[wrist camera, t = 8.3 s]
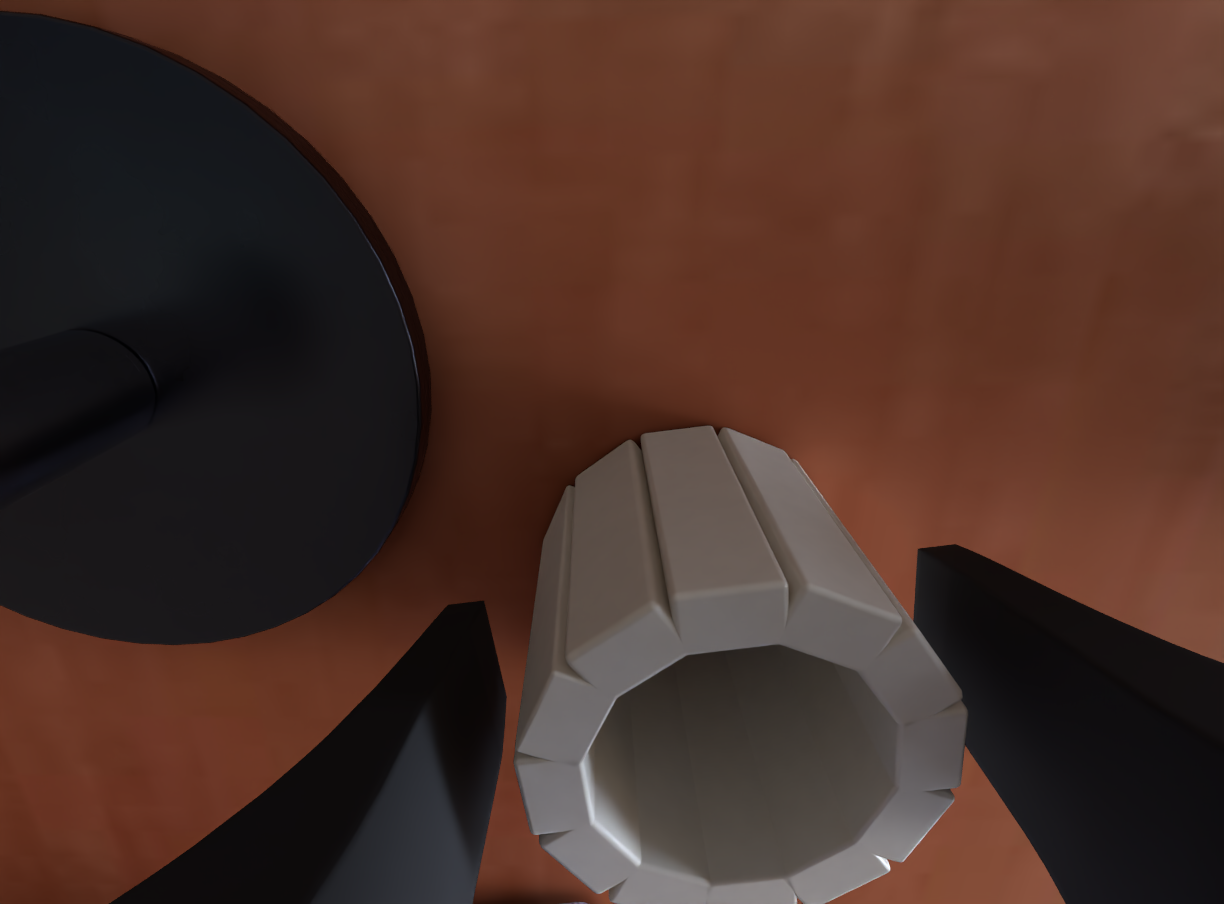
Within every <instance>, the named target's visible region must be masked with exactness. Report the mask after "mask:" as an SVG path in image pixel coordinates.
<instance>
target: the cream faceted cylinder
mask: <svg viewBox="0 0 1224 904" xmlns="http://www.w3.org/2000/svg"><path fill="white" fill-rule="evenodd" d="M641 448H642V451H641V449H640V448H639V447H638V446H637V444H636V443H635V442H634V441H632V440H627V441H626V442H624V443H623V444H621V445H620V446H619V447H617V448H616V449H614V450H613V451H611V452H610V453H609V454H607V455H606V456H604V457H603V458H602V459H600V460H599V461H597V462H596V463H595V464H593V465H592V466H590V467H589V468H588V469H586V470H585V471H583V472H582V473H580V474H579V475H578V476H577V477H576V479H575V487H573V486H570V485H568V486H567V487H566V489H565V492H564V494H563V496H562V498H561V501H560V503H559V505H558V508H557V510H556V512H555V514H554V517H553V519H552V521H551V524H550V526H549V528H548V530H547V533H546V535H545V537H544V540H543V546H542V553H541V560H540V568H539V575H538V582H537V590H536V597H535V604H534V611H533V619H532V626H531V633H530V641H529V648H528V655H527V662H526V670H525V677H524V684H523V691H522V699H521V706H520V713H519V721H518V728H517V735H516V742H515V755H514V767H515V771H516V775H517V779H518V783H519V787H520V791H521V795H522V800H523V804H524V808H525V812H526V816H527V820H528V824H529V828H530V831H531V833H532V834H534V835H539V843H540V845H541V847H542V848H543V849H544V850H545V851H546V852H547V853H549V854H550V855H551V856H552V857H553V858H555V859H556V860H557V861H558V862H559V863H560V864H562V865H563V866H564V867H565V868H566V869H567V870H569V871H570V872H571V873H572V874H573V875H574V876H576V877H577V878H578V879H579V880H580V881H582V882H583V883H584V884H585V885H586V886H587V887H589V888H590V889H591V890H592V891H593V892H594V893H603V892H604V891H606V890H608V889H609V899H610V901H611V902H613V903H617V904H797V897H798V898H799V899H800V900H801V902H802V903H803V904H825V903H827V902H829V901H831V900H833V899H835V898H837V897H839V896H841V895H843V894H845V893H847V892H849V891H851V890H853V889H855V888H857V887H859V886H861V885H863V884H865V883H868V882H870V881H872V880H874V879H876V878H878V877H880V876H882V875H884V874H886V873H888V872H889V871H890V865H889V863H888V861H887V859H890V860H893V861H897V862H903V861H904V860H905V859H906V858H907V856H908V855H909V854H910V853H911V852H912V850H913V849H914V848H915V847H916V846H917V844H918V843H919V842H920V841H921V840H922V839H923V837H924V836H925V835H926V834H927V833H928V831H929V830H930V829H931V828H932V827H933V825H934V824H935V823H936V822H937V821H938V819H939V818H940V817H941V816H942V815H943V813H944V812H945V811H946V810H947V809H948V807H949V806H950V805H951V804H952V803H953V801H954V799H955V798H954V795H953V793H952V792H951V790H950V788H957V787H959V786H960V785H961V776H962V767H963V757H964V748H965V739H966V729H967V720H968V710H967V708H966V706H965V705H964V704H963V702H962V701H961V699H962V698H963V696H962V690H961V689H960V687H959V686H958V684H957V683H956V682H955V680H954V679H953V677H952V676H951V674H950V673H949V672H948V670H947V669H946V667H945V666H944V664H943V663H942V662H941V660H940V659H939V657H938V656H937V655H936V653H935V652H934V650H933V649H932V647H931V646H930V645H929V643H928V642H927V640H926V639H925V637H924V636H923V635H922V633H921V632H920V630H919V629H918V628H917V626H916V625H915V623H914V622H913V621H912V619H911V618H910V617H909V615H908V614H907V612H906V611H905V610H904V608H903V607H902V605H901V604H900V603H899V601H898V600H897V599H896V597H895V596H894V594H893V593H892V592H891V590H890V589H889V587H888V586H887V585H886V583H885V582H884V581H883V579H882V578H881V576H880V575H879V574H878V572H877V571H876V569H875V568H874V567H873V565H872V564H871V563H870V561H869V560H868V558H867V557H866V556H865V554H864V553H863V552H862V550H861V549H860V547H859V546H858V545H857V543H856V542H855V540H854V539H853V538H852V536H851V535H850V534H849V532H848V531H847V529H846V528H845V527H844V525H843V524H842V522H841V521H840V520H839V518H838V517H837V516H836V514H835V513H834V511H833V510H832V509H831V507H830V506H829V504H828V503H827V502H826V500H825V499H824V498H823V496H822V495H821V493H820V492H819V491H818V489H817V488H816V487H815V485H814V484H813V482H812V481H811V480H810V478H809V477H808V475H807V474H806V473H805V471H804V470H803V469H802V467H801V466H800V464H799V463H798V462H797V461H796V460H795V459H790V458H789V457H788V455H787V454H786V452H785V451H784V450H782V449H779V448H777V447H774V446H772V445H769V444H767V443H764V442H762V441H759V440H757V439H754V438H752V437H749V436H747V435H744V434H742V433H739V432H737V431H734V430H732V429H729V428H722V429H721V430H720V432H719V434H718V436H717V435H716V433H715V431H714V429H713V427H712V426H709V425H708V426H700V427H692V428H684V429H676V430H668V431H660V432H652V433H645V434H643V435H641Z"/></svg>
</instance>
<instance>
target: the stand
mask: <svg viewBox="0 0 1224 904" xmlns="http://www.w3.org/2000/svg"><path fill="white" fill-rule="evenodd" d="M430 419H431V378H430V368H429V362H428V356H427V350H426V344H425V338H424V334H423V330H422V327H421V324H420V320H419V317H418V314H417V310H416V307H415V304H414V301H413V297H412V294H411V292H410V290H409V288H408V285H407V283H406V281H405V279H404V276H403V274H402V272H401V270H400V267H399V265H398V263H397V260H396V258H395V256H394V254H393V253H392V251H391V249H390V247H389V246H388V244H387V242H386V241H385V239H384V237H383V236H382V234H381V232H380V230H379V229H378V227H377V225H376V224H375V222H374V220H373V219H372V217H371V215H370V214H369V213H368V211H367V210H366V209H365V207H364V206H363V205H362V203H361V202H360V201H359V199H358V198H357V197H356V196H355V194H354V193H353V192H352V190H351V189H350V188H349V186H348V185H347V184H346V182H345V181H344V180H343V178H342V177H341V176H340V175H339V174H338V173H337V172H336V171H335V170H334V169H333V168H332V167H331V165H330V164H329V163H328V162H327V161H326V160H325V159H324V158H323V157H322V156H321V155H320V154H319V153H318V152H317V151H316V150H315V149H314V148H313V146H312V145H311V144H310V143H309V142H308V141H307V140H305V139H304V138H303V137H302V136H301V135H300V134H298V133H297V132H296V131H295V130H294V129H292V128H291V127H290V126H289V125H288V124H287V123H285V122H284V121H283V120H282V119H281V118H279V117H278V116H277V115H276V114H275V113H274V112H272V111H271V110H270V109H269V108H267V107H266V106H264V105H263V104H261V103H260V102H258V101H257V100H255V99H254V98H252V97H251V96H250V95H248V94H247V93H245V92H244V91H242V90H241V89H239V88H238V87H236V86H235V85H233V84H232V83H230V82H229V81H227V80H226V79H224V78H222V77H220V76H218V75H216V74H214V73H212V72H210V71H208V70H206V69H204V68H202V67H200V66H199V65H197V64H195V63H193V62H191V61H189V60H187V59H185V58H183V57H181V56H179V55H177V54H174V53H171V52H169V51H166V50H163V49H161V48H158V47H155V46H152V45H150V44H147V43H144V42H142V41H139V40H136V39H133V38H131V37H128V36H125V35H121V34H118V33H115V32H111V31H108V30H105V29H102V28H98V27H95V26H91V25H86V24H82V23H77V22H73V21H69V20H64V19H60V18H56V17H51V16H47V15H43V14H33V13H21V12H10V11H0V605H1V606H3V607H5V608H8V609H10V610H12V611H15V612H17V613H19V614H21V615H24V616H26V617H29V618H32V619H35V620H38V621H41V622H44V623H47V624H50V625H53V626H56V627H59V628H62V629H65V630H69V631H74V632H78V633H82V634H86V635H90V636H94V637H99V638H104V639H111V640H118V641H125V642H132V643H140V644H164V645H182V644H198V643H211V642H217V641H223V640H228V639H234V638H240V637H245V636H248V635H251V634H255V633H258V632H261V631H265V630H268V629H271V628H274V627H277V626H279V625H281V624H284V623H286V622H288V621H290V620H293V619H295V618H297V617H299V616H301V615H304V614H306V613H308V612H309V611H311V610H313V609H314V608H316V607H317V606H319V605H321V604H322V603H324V602H325V601H327V600H329V599H330V598H332V597H333V596H335V595H336V594H337V593H338V592H339V591H341V590H342V589H343V588H344V587H345V586H346V585H348V584H349V583H350V582H351V581H352V580H354V579H355V578H356V577H357V576H358V575H359V574H360V573H361V572H362V571H363V569H364V568H365V567H366V566H367V565H368V564H369V563H370V561H371V560H372V559H373V558H374V557H375V556H376V555H377V553H378V552H379V551H380V549H381V548H382V546H383V545H384V543H385V541H386V540H387V538H388V537H389V535H390V534H391V532H392V530H393V529H394V527H395V526H396V524H397V522H398V520H399V519H400V517H401V515H402V513H403V512H404V510H405V508H406V506H407V504H408V502H409V500H410V497H411V495H412V493H413V490H414V488H415V486H416V483H417V481H418V479H419V476H420V472H421V468H422V465H423V461H424V457H425V453H426V449H427V446H428V437H429V428H430Z"/></svg>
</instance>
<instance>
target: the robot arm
mask: <svg viewBox="0 0 1224 904" xmlns="http://www.w3.org/2000/svg"><path fill="white" fill-rule="evenodd" d="M913 622H914V623H915V625H916V626H917V628H918V629H919V630H920V632H921V633H922V635H923V636H924V637H925V639H926V640H927V642H928V643H929V645H930V646H931V647H932V649H933V650H934V652H935V653H936V655H937V656H938V657H939V659H940V660H941V662H942V663H943V664H944V666H945V667H946V669H947V670H948V672H949V673H950V674H951V676H952V677H953V679H954V680H955V682H956V683H957V684H958V686H959V687H960V689H961V690H962V696H963V698H962V699H961V701H962V702H963V704H964V705H965V706H966V708H967V710H968V720H967V729H966V739H965V745H966V747H967V748H968V750H969V751H970V753H971V754H972V756H973V757H974V759H975V760H976V762H977V763H978V765H979V766H980V768H981V769H982V771H983V772H984V774H985V775H986V777H987V778H988V779H989V781H990V782H991V784H992V785H993V787H994V788H995V790H996V791H997V793H998V794H999V796H1000V797H1001V799H1002V800H1003V802H1004V803H1005V805H1006V806H1007V808H1008V809H1009V811H1010V812H1011V814H1012V815H1013V817H1014V818H1015V820H1016V821H1017V822H1018V824H1019V825H1020V827H1021V828H1022V830H1023V831H1024V833H1025V834H1026V836H1027V838H1028V839H1029V841H1030V842H1031V844H1032V846H1033V847H1034V849H1035V850H1036V852H1037V854H1038V855H1039V857H1040V859H1041V860H1042V862H1043V863H1044V865H1045V867H1046V868H1047V870H1048V872H1049V874H1050V876H1051V878H1052V879H1053V881H1054V883H1055V885H1056V887H1057V888H1058V890H1059V892H1060V894H1061V896H1062V898H1063V899H1064V901H1065V903H1066V904H1224V663H1222V662H1219V661H1216V660H1213V659H1211V658H1208V657H1205V656H1202V655H1200V654H1197V653H1195V652H1192V651H1190V650H1187V649H1185V648H1182V647H1180V646H1177V645H1175V644H1172V643H1170V642H1167V641H1165V640H1163V639H1160V638H1158V637H1156V636H1153V635H1151V634H1149V633H1146V632H1144V631H1142V630H1139V629H1137V628H1135V627H1132V626H1130V625H1128V624H1125V623H1123V622H1121V621H1118V620H1116V619H1114V618H1112V617H1110V616H1107V615H1105V614H1103V613H1101V612H1099V611H1096V610H1094V609H1092V608H1090V607H1088V606H1086V605H1083V604H1081V603H1079V602H1077V601H1075V600H1073V599H1071V598H1069V597H1067V596H1064V595H1062V594H1060V593H1058V592H1056V591H1054V590H1052V589H1050V588H1048V587H1046V586H1044V585H1042V584H1040V583H1038V582H1036V581H1033V580H1031V579H1029V578H1027V577H1025V576H1023V575H1021V574H1019V573H1017V572H1015V571H1013V570H1011V569H1009V568H1007V567H1005V566H1003V565H1001V564H999V563H997V562H994V561H992V560H990V559H988V558H986V557H984V556H982V555H980V554H977V553H975V552H973V551H971V550H968V549H966V548H964V547H961V546H959V545H956V544H954V545H945V546H937V547H929V548H920V549H918V556H917V572H916V588H915V604H914V620H913ZM506 698H507V696H506V692H505V688H504V684H503V679H502V675H501V671H500V666H499V662H498V658H497V654H496V649H495V645H494V641H493V637H492V632H491V628H490V624H489V620H488V615H487V611H486V607H485V603H484V601H477V602H468V603H460V604H451V605H448V606H447V607H446V608H445V609H444V610H443V611H442V612H441V613H440V614H439V615H438V617H437V618H436V619H435V620H434V621H433V622H432V623H431V625H430V626H429V627H428V628H427V629H426V630H425V632H424V633H423V634H422V635H421V636H420V637H419V639H418V640H417V641H416V642H415V643H414V644H413V645H412V647H411V648H410V649H409V650H408V651H407V652H406V654H405V655H404V656H403V657H402V658H401V659H400V660H399V661H398V662H397V664H396V665H395V666H394V667H393V668H392V669H391V670H390V671H389V673H388V674H387V675H386V676H385V677H384V678H383V679H382V680H381V681H380V683H379V684H378V685H377V686H376V687H375V688H374V689H373V690H372V691H371V692H370V693H369V694H368V695H367V696H366V697H365V698H364V699H363V700H362V701H361V702H360V703H359V704H358V705H357V706H356V707H355V708H354V709H353V710H352V711H351V712H350V713H349V714H348V715H347V716H346V717H345V719H344V720H343V721H342V722H341V723H340V724H339V725H338V726H337V727H336V728H335V729H334V730H333V731H332V732H331V733H330V734H329V735H328V736H327V737H326V738H324V739H323V740H322V741H321V742H320V743H319V744H318V745H317V746H316V747H315V748H314V749H313V750H312V751H310V752H309V753H308V754H307V755H306V756H305V757H304V758H303V759H302V760H301V761H299V762H298V763H297V764H296V765H295V766H294V767H292V768H291V769H290V770H289V771H288V772H287V773H285V774H284V775H283V776H282V777H281V778H280V779H279V780H277V781H276V782H275V783H274V784H273V785H272V786H270V787H269V788H268V789H267V790H266V791H264V792H263V793H262V794H261V795H259V796H258V797H257V798H256V799H254V800H253V801H252V802H250V803H249V804H248V805H247V806H245V807H244V808H243V809H241V810H240V811H239V812H237V813H236V814H235V815H233V816H232V817H231V818H230V819H228V820H227V821H226V822H224V823H223V824H222V825H220V826H219V827H218V828H216V829H215V830H214V831H213V832H211V833H210V834H209V835H207V836H206V837H205V838H203V839H202V840H201V841H199V842H198V843H197V844H196V845H194V846H193V847H191V848H190V849H189V850H187V851H186V852H185V853H183V854H182V855H180V856H179V857H177V858H176V859H175V860H173V861H172V862H170V863H169V864H167V865H166V866H164V867H163V868H162V869H160V870H159V871H157V872H156V873H154V874H153V875H151V876H150V877H149V878H147V879H146V880H144V881H143V882H141V883H140V884H138V885H137V886H135V887H134V888H132V889H131V890H129V891H127V892H126V893H124V894H123V895H121V896H120V897H118V898H117V899H115V900H114V901H112V902H111V903H109V904H473V898H474V893H475V888H476V883H477V878H478V873H479V868H480V863H481V858H482V853H483V849H484V844H485V839H486V834H487V829H488V824H489V819H490V814H491V809H492V804H493V799H494V794H495V789H496V784H497V779H498V774H499V769H500V764H501V758H502V751H503V739H504V728H505V713H506ZM559 904H588V903H585V902H569V903H559Z"/></svg>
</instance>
